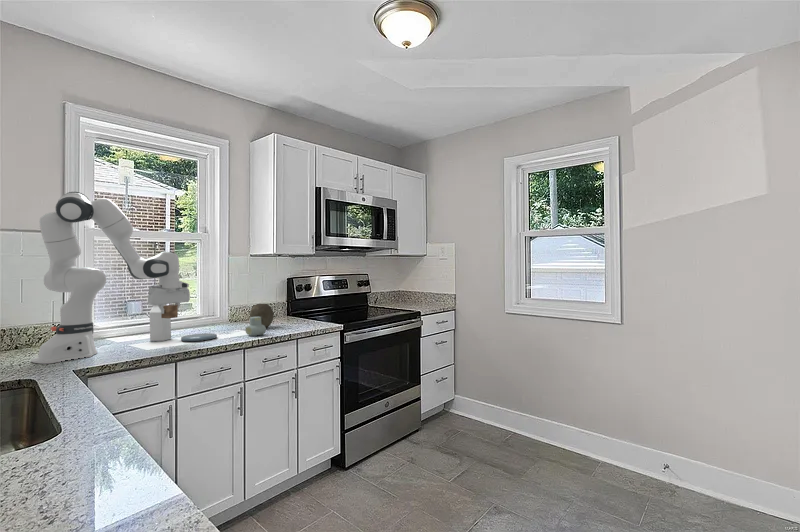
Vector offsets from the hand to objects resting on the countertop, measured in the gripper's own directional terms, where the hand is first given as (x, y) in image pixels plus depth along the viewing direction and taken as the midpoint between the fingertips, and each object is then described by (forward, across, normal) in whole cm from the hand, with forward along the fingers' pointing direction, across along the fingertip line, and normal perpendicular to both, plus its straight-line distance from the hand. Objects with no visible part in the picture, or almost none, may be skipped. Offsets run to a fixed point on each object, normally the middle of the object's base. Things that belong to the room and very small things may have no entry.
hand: (169, 312), depth 208 cm
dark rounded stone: (+15, +56, -6) cm, 59 cm away
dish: (+15, +16, 0) cm, 23 cm away
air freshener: (+15, +36, -20) cm, 44 cm away
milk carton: (+16, +8, +18) cm, 25 cm away
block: (+2, 0, 0) cm, 2 cm away
